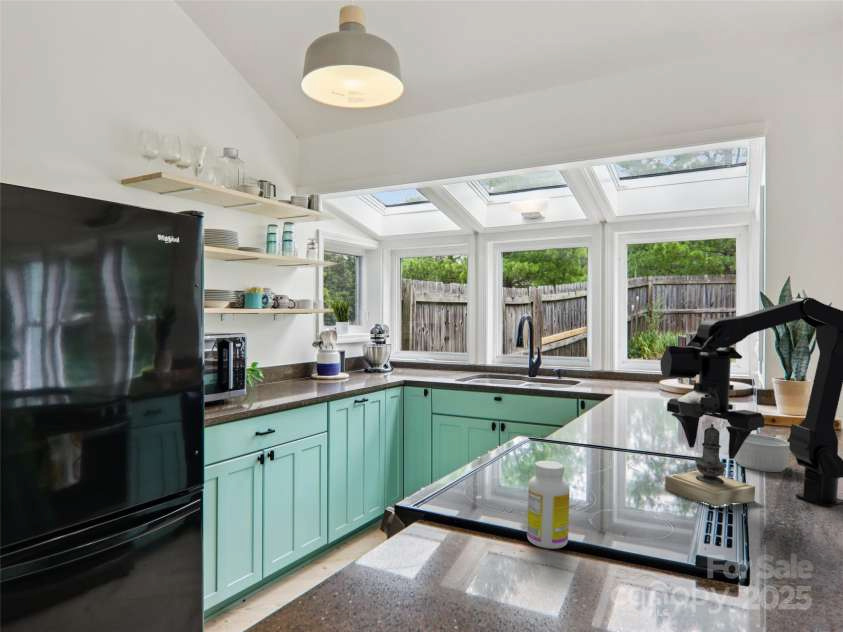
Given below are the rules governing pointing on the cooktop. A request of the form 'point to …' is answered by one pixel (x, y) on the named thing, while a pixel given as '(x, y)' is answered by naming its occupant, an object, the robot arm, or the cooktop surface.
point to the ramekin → (763, 453)
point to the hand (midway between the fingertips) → (710, 452)
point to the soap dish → (709, 489)
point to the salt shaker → (710, 458)
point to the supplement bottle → (548, 506)
